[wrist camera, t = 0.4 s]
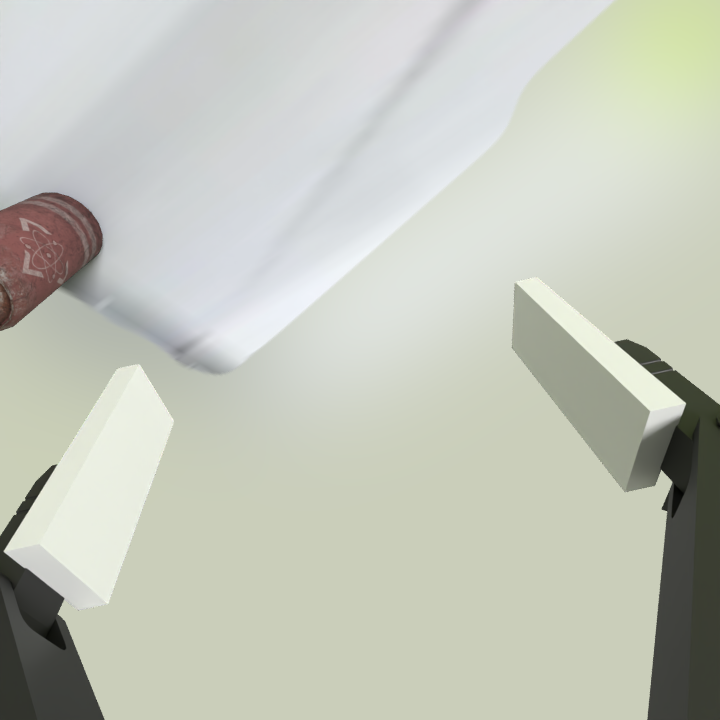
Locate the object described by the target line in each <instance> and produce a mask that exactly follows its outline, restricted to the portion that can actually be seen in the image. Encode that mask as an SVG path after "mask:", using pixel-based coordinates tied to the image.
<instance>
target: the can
mask: <svg viewBox="0 0 720 720" xmlns="http://www.w3.org/2000/svg"><path fill="white" fill-rule="evenodd" d="M101 246H102V232H101V229H100V226H99V223H98V222H97V220H96V219H95V217H94V216H93V214H92V213H91V212H90V211H89V210H88V209H87V208H86V207H85V206H84V205H83V204H81V203H80V202H78V201H76V200H75V199H73V198H71V197H69V196H66V195H62V194H59V193H41V194H39V195H36V196H33V197H31V198H29V199H26V200H24V201H22V202H19V203H17V204H15V205H12V206H10V207H8V208H6V209H3V210H1V211H0V331H2V330H4V329H7V328H10V327H13V326H14V325H16V324H17V323H18V322H19V321H20V320H22V319H23V318H24V317H25V316H26V315H27V314H29V313H30V312H31V311H32V310H33V309H34V308H36V306H38V305H39V304H40V303H41V302H43V301H44V300H45V299H46V298H47V297H48V296H50V295H51V294H52V293H53V292H54V291H55V290H56V289H58V288H59V287H60V286H61V285H62V284H63V283H65V282H66V281H67V280H68V279H69V278H70V277H72V276H73V275H74V274H75V273H76V272H77V271H79V270H80V269H81V268H82V267H83V266H84V265H86V264H87V263H88V262H89V261H90V260H91V259H93V258H94V257H95V256H96V255H97V254H98V253H99V251H100V249H101Z"/></svg>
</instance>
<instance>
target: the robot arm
mask: <svg viewBox="0 0 720 720" xmlns="http://www.w3.org/2000/svg"><path fill="white" fill-rule="evenodd" d="M512 348H513V350H514V351H515V352H516V354H517V355H518V356H519V358H520V359H521V360H522V361H523V363H524V364H525V365H526V366H527V368H528V369H529V370H530V372H531V373H532V374H533V375H534V377H535V378H536V379H537V380H538V382H539V383H540V384H541V386H542V387H543V388H544V389H545V391H546V392H547V393H548V395H550V397H551V398H552V400H553V401H554V402H555V404H556V405H557V406H558V407H559V409H560V410H561V411H562V413H563V414H564V415H565V416H566V417H567V419H568V420H569V421H570V423H571V424H572V425H573V427H574V428H575V429H576V430H577V432H578V433H579V434H580V435H581V437H582V438H583V439H584V440H585V442H586V443H587V444H588V446H589V447H590V448H591V450H592V451H593V452H594V453H595V455H596V456H597V457H598V458H599V460H600V461H601V462H602V464H603V465H604V466H605V467H606V469H607V470H608V471H609V473H610V474H611V475H612V476H613V478H614V479H615V480H616V482H617V483H618V484H619V485H620V487H621V488H622V489H623V490H624V492H628V491H632V490H637V489H642V488H646V487H651V486H655V484H656V482H657V479H658V476H659V474H660V471H661V470H662V471H663V472H664V473H665V474H666V475H667V476H668V477H669V478H670V479H671V480H672V482H673V483H672V486H671V488H670V491H669V493H668V495H667V497H666V500H665V502H664V505H663V507H662V510H665V511H667V521H666V531H665V542H664V552H663V563H662V573H661V583H660V594H659V604H658V615H657V625H656V636H655V647H654V657H653V668H652V677H651V688H650V699H649V709H648V719H647V720H720V405H719V404H718V403H716V402H715V401H714V400H713V399H712V398H710V397H709V396H708V395H706V394H705V393H704V392H703V391H701V390H700V389H699V388H697V387H696V386H695V385H694V384H692V383H691V382H690V381H688V380H687V379H686V378H685V377H683V376H682V375H681V374H680V373H678V372H677V371H676V370H675V371H673V369H672V367H671V366H669V365H668V364H667V363H665V362H664V361H661V359H660V358H659V357H658V356H657V355H655V354H654V353H653V352H651V351H650V350H649V349H648V348H646V347H644V346H641V345H639V344H637V343H634V342H632V341H629V340H627V339H626V340H622V341H617V342H613V341H612V340H611V339H609V338H608V337H607V336H606V335H605V334H603V333H602V332H601V331H600V330H599V329H598V328H596V327H595V326H594V325H593V324H592V323H590V322H589V321H588V320H587V319H586V318H585V317H583V316H582V315H581V314H580V313H579V312H577V311H576V310H575V309H574V308H573V307H572V306H570V305H569V304H568V303H567V302H565V301H564V300H563V299H562V298H561V297H560V296H559V295H557V294H556V293H555V292H554V291H553V290H551V289H550V288H549V287H548V286H547V285H546V284H544V283H543V282H542V281H541V280H540V279H538V278H537V277H535V278H531V279H526V280H521V281H517V282H515V290H514V313H513V337H512ZM173 423H174V420H173V419H172V417H171V415H170V413H169V412H168V410H167V409H166V407H165V406H164V404H163V402H162V400H161V399H160V397H159V395H158V394H157V392H156V391H155V389H154V387H153V386H152V384H151V382H150V381H149V379H148V377H147V376H146V374H145V372H144V371H143V369H142V368H141V366H140V364H136V365H132V366H128V367H123V368H118V369H117V370H116V372H115V373H114V375H113V376H112V378H111V380H110V382H109V383H108V385H107V386H106V388H105V389H104V391H103V393H102V394H101V396H100V397H99V399H98V401H97V402H96V404H95V405H94V407H93V409H92V410H91V412H90V413H89V415H88V417H87V418H86V420H85V422H84V423H83V425H82V426H81V428H80V430H79V431H78V433H77V434H76V436H75V438H74V439H73V441H72V443H71V444H70V446H69V448H68V449H67V451H66V452H65V454H64V455H63V457H62V459H61V460H60V462H59V463H58V465H53V466H51V467H50V468H49V469H48V470H47V471H46V472H45V473H44V474H43V475H42V476H41V477H40V478H39V479H38V480H37V481H36V482H35V484H34V485H33V487H32V488H31V490H30V491H29V493H28V494H27V496H26V497H25V499H26V500H25V501H23V502H22V504H21V505H20V507H19V508H18V510H17V511H16V513H17V514H16V515H14V516H13V517H12V519H11V521H10V522H9V524H8V525H7V527H6V528H5V530H4V531H3V533H2V534H1V536H0V720H104V717H103V715H102V712H101V710H100V707H99V705H98V702H97V700H96V697H95V695H94V692H93V690H92V687H91V685H90V682H89V680H88V678H87V675H86V673H85V670H84V667H83V665H82V662H81V660H80V657H79V655H78V652H77V650H76V647H75V645H74V642H73V640H72V637H71V635H70V632H69V630H68V627H67V625H66V622H65V621H64V620H63V619H62V618H61V617H60V616H59V615H58V612H59V610H60V607H61V605H62V603H63V600H65V601H67V602H68V603H69V604H70V605H72V606H73V607H74V608H75V609H77V610H83V609H88V608H92V607H97V606H102V605H106V604H108V603H109V600H110V597H111V595H112V592H113V589H114V586H115V584H116V581H117V578H118V575H119V572H120V570H121V567H122V564H123V562H124V559H125V556H126V553H127V550H128V548H129V544H130V542H131V540H132V537H133V534H134V531H135V529H136V526H137V523H138V520H139V518H140V515H141V512H142V509H143V506H144V504H145V501H146V498H147V495H148V493H149V490H150V487H151V484H152V482H153V479H154V476H155V473H156V470H157V468H158V465H159V462H160V459H161V457H162V454H163V451H164V448H165V446H166V443H167V440H168V437H169V435H170V432H171V429H172V426H173Z"/></svg>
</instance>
